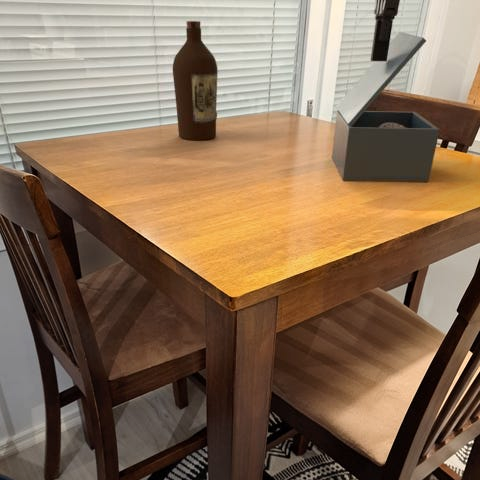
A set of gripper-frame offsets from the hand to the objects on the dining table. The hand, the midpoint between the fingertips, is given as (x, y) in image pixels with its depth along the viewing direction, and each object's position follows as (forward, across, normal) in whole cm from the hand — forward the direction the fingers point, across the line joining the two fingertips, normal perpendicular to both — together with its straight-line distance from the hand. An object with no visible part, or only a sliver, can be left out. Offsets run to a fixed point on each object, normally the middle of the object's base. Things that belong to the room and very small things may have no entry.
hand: (378, 60), depth 92 cm
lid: (+3, 0, 0) cm, 3 cm away
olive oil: (+20, -26, -37) cm, 50 cm away
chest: (+20, 0, +3) cm, 20 cm away
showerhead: (+19, 0, +4) cm, 19 cm away
